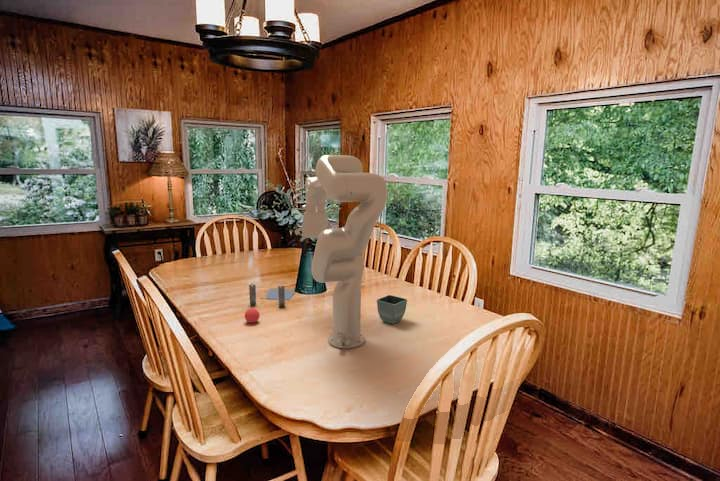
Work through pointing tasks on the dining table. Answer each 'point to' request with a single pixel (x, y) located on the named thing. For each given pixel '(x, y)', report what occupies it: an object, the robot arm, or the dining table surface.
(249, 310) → the ball
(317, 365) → the dining table surface
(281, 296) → the post right
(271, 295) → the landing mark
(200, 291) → the dining table surface
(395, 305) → the flower pot
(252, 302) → the post left
